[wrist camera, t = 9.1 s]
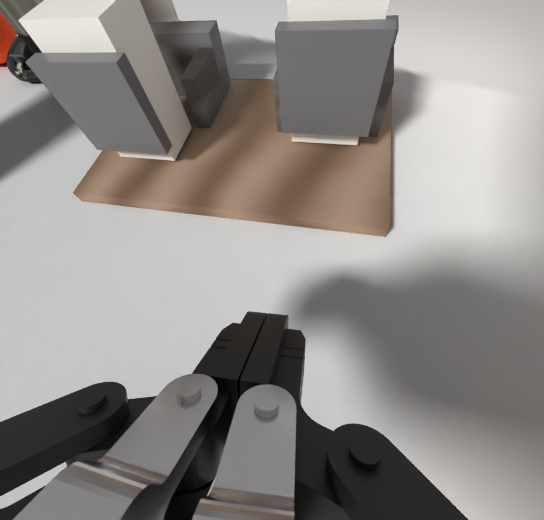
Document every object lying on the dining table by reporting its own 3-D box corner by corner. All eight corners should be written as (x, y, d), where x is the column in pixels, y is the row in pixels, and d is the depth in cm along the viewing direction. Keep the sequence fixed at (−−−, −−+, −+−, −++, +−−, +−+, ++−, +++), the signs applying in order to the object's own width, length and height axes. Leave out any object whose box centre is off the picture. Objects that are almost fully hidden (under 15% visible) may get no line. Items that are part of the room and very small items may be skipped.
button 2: (110, 164, 22) (-2, 29, 14) (136, 125, 24) (52, -12, 16) (175, 170, 20) (96, 27, 13) (196, 128, 23) (140, -17, 15)
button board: (72, 199, 22) (-110, 43, 12) (151, 85, 29) (75, -71, 19) (385, 236, 17) (491, 35, 8) (388, 90, 24) (445, -110, 15)
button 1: (283, 149, 20) (272, -8, 12) (294, 109, 23) (290, -47, 15) (363, 154, 19) (407, -15, 11) (366, 112, 21) (405, -56, 13)
